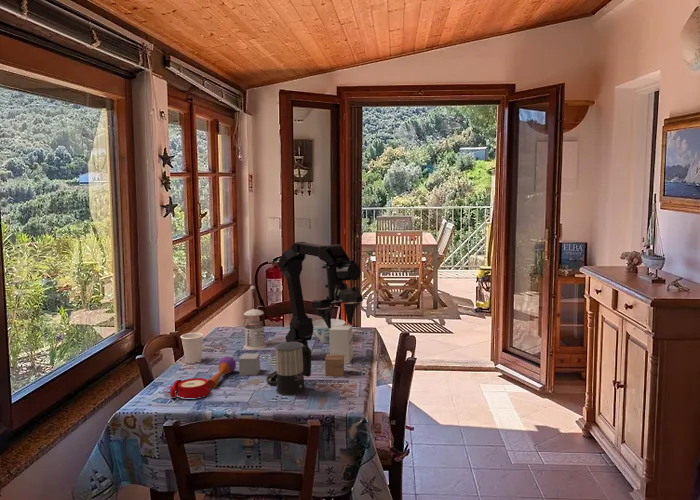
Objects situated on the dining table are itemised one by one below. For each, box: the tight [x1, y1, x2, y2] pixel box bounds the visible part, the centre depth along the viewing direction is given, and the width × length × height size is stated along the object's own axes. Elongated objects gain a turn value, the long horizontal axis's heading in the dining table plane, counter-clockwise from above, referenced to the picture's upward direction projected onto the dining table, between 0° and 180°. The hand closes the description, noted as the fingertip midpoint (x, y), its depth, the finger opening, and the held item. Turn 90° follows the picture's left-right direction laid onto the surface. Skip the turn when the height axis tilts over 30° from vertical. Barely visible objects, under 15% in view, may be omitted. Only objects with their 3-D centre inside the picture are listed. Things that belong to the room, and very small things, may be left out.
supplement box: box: [329, 324, 354, 364], centre depth 226 cm, size 7×7×13 cm
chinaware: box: [312, 318, 346, 344], centre depth 255 cm, size 15×15×8 cm
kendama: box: [207, 356, 237, 389], centre depth 209 cm, size 6×6×20 cm
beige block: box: [238, 353, 261, 376], centre depth 215 cm, size 6×6×6 cm
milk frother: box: [266, 341, 312, 396], centre depth 198 cm, size 14×16×15 cm
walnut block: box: [324, 353, 345, 377], centre depth 211 cm, size 6×6×6 cm
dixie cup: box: [180, 332, 204, 363], centre depth 230 cm, size 8×8×10 cm
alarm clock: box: [163, 377, 214, 398], centre depth 194 cm, size 10×6×15 cm
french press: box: [240, 285, 268, 351], centre depth 248 cm, size 10×12×25 cm
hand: (339, 325), depth 212 cm, fingers open, 9 cm apart
